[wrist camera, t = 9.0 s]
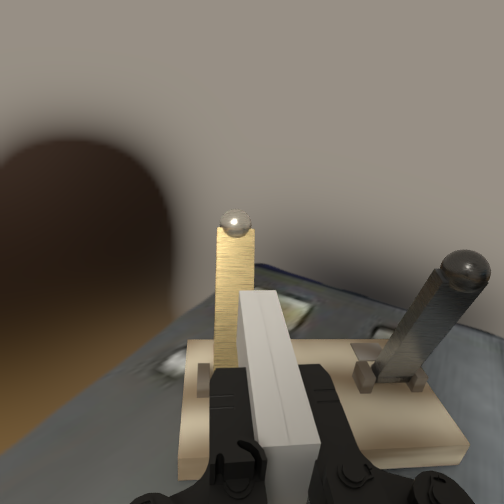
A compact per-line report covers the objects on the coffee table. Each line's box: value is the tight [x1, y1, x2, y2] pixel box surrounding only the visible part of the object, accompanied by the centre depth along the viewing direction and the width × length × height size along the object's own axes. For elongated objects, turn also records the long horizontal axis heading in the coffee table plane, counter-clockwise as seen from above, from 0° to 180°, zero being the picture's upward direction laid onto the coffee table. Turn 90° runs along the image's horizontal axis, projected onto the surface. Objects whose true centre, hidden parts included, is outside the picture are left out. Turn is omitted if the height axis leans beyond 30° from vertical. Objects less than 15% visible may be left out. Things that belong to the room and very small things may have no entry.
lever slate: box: [370, 250, 491, 383], centre depth 27 cm, size 3×3×15 cm
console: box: [178, 339, 470, 481], centre depth 31 cm, size 12×22×4 cm, turn 96°
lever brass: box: [213, 209, 255, 373], centre depth 30 cm, size 3×3×15 cm
